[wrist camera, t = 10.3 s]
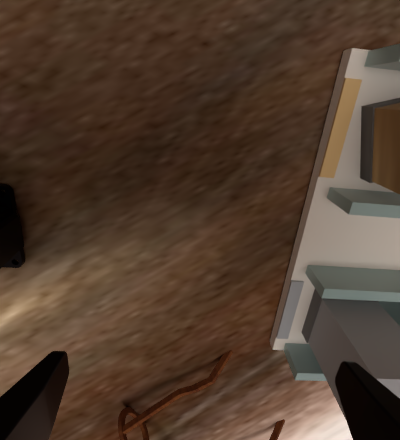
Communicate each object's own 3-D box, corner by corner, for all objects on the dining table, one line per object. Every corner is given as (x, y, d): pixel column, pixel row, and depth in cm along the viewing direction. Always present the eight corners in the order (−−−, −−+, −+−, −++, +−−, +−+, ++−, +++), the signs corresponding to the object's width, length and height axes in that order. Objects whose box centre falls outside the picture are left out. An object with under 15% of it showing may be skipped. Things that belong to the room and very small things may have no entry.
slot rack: (269, 341, 27) (282, 380, 23) (343, 50, 17) (385, 38, 14) (361, 344, 27) (388, 382, 24) (480, 66, 18) (555, 59, 14)
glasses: (120, 396, 30) (108, 451, 25) (230, 345, 27) (239, 395, 23) (187, 457, 35) (187, 512, 30) (285, 417, 32) (302, 470, 28)
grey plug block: (301, 332, 25) (348, 430, 18) (314, 288, 23) (373, 377, 16) (352, 334, 25) (419, 430, 18) (370, 291, 24) (452, 379, 16)
